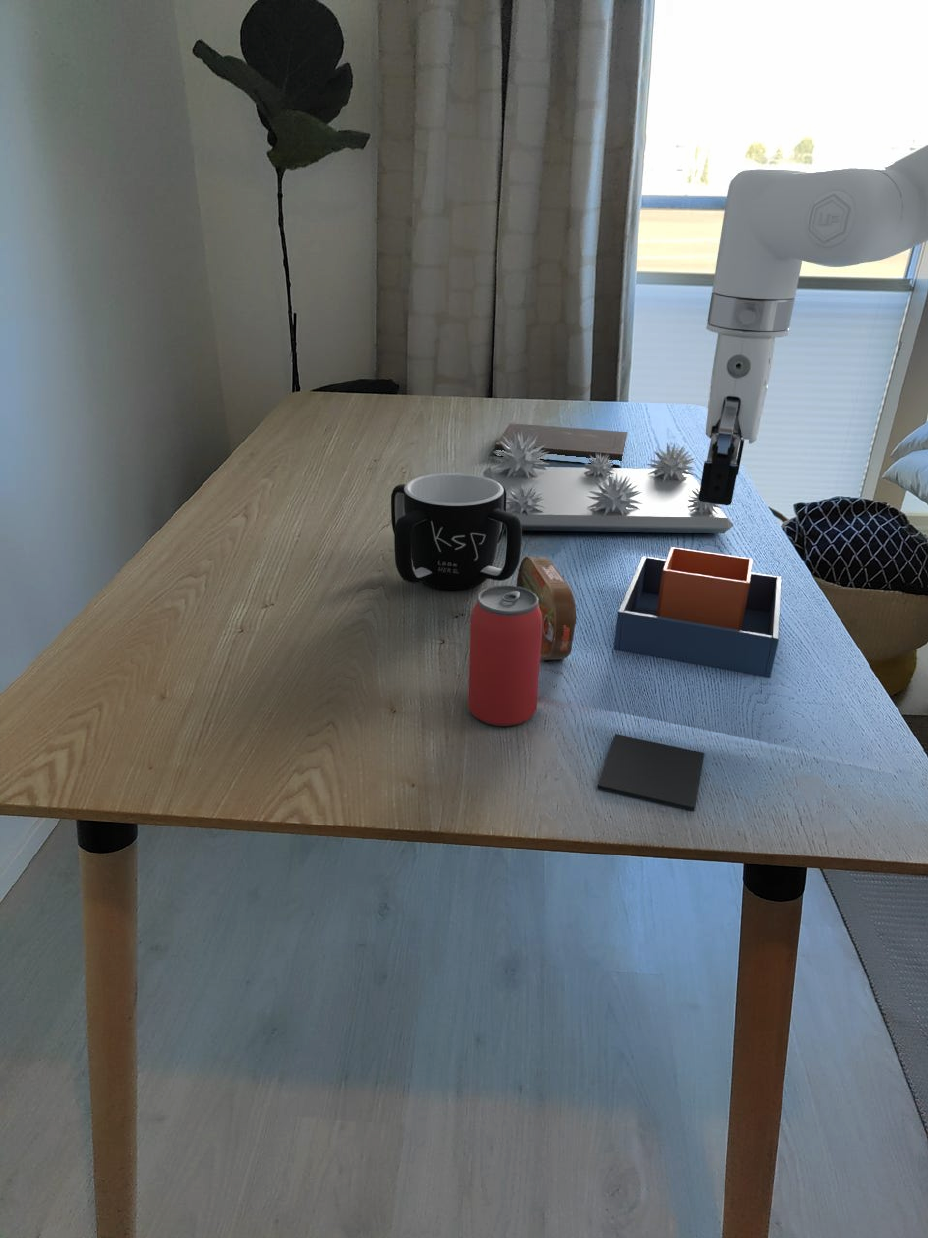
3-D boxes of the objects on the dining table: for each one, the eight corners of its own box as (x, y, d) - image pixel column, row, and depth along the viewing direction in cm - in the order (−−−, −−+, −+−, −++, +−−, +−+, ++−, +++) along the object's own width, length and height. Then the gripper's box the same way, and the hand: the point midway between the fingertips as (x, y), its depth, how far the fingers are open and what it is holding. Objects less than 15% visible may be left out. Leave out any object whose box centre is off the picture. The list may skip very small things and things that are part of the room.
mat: (703, 756, 76) (704, 752, 76) (694, 811, 69) (694, 807, 69) (614, 737, 78) (615, 733, 78) (597, 789, 72) (597, 785, 72)
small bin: (741, 622, 98) (753, 558, 94) (737, 650, 92) (750, 583, 89) (662, 609, 101) (671, 546, 97) (653, 635, 95) (662, 570, 91)
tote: (774, 615, 101) (782, 576, 99) (769, 682, 88) (778, 639, 85) (637, 593, 106) (642, 555, 104) (612, 653, 92) (617, 611, 90)
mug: (382, 603, 102) (380, 508, 96) (393, 551, 116) (392, 465, 111) (519, 606, 102) (524, 511, 96) (513, 554, 116) (518, 468, 111)
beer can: (547, 704, 83) (556, 593, 78) (516, 737, 78) (523, 621, 73) (488, 685, 86) (493, 576, 80) (455, 716, 81) (457, 602, 75)
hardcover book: (509, 434, 170) (510, 422, 169) (626, 443, 166) (627, 432, 165) (494, 456, 156) (494, 444, 155) (621, 467, 152) (622, 455, 151)
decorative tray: (490, 537, 121) (492, 469, 117) (482, 480, 144) (484, 421, 140) (733, 540, 122) (745, 472, 118) (687, 483, 145) (696, 424, 141)
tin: (512, 610, 101) (516, 544, 97) (538, 609, 101) (543, 543, 98) (546, 676, 88) (552, 602, 84) (575, 674, 88) (582, 600, 84)
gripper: (789, 332, 73) (751, 520, 81) (792, 307, 87) (759, 468, 95) (699, 324, 75) (671, 509, 83) (716, 301, 89) (691, 460, 97)
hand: (718, 487), depth 89 cm, fingers open, 9 cm apart
